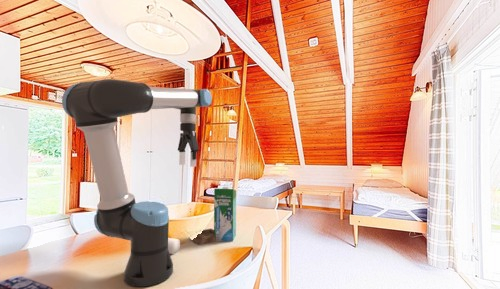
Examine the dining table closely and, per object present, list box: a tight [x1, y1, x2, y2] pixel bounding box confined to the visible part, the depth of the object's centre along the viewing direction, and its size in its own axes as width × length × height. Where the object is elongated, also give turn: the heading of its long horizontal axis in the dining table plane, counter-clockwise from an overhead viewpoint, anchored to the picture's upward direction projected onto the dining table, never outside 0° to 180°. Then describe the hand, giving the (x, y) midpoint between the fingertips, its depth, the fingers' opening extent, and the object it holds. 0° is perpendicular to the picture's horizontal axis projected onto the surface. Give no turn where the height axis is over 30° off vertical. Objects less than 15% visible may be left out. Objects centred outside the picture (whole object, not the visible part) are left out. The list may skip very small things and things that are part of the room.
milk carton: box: [213, 186, 237, 242], centre depth 119 cm, size 9×9×25 cm
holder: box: [191, 228, 216, 246], centre depth 117 cm, size 14×10×3 cm
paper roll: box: [168, 237, 181, 255], centre depth 102 cm, size 6×6×12 cm
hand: (187, 165), depth 122 cm, fingers open, 13 cm apart
